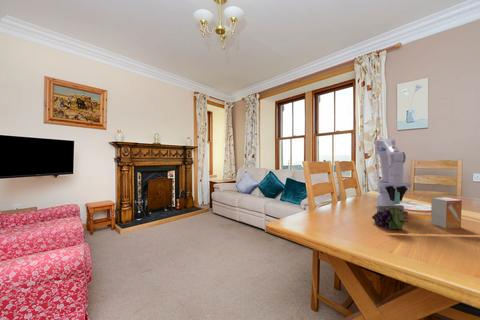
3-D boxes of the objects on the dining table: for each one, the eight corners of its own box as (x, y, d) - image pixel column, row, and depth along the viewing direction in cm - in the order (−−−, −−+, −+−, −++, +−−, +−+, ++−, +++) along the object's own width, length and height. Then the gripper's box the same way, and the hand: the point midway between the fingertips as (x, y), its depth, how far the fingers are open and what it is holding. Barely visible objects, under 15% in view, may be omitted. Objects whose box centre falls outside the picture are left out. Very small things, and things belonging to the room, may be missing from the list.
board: (376, 213, 112) (377, 204, 112) (401, 214, 111) (401, 205, 111) (400, 225, 94) (400, 214, 94) (429, 225, 93) (430, 215, 93)
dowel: (390, 202, 108) (390, 191, 108) (396, 202, 108) (397, 191, 107) (394, 204, 105) (395, 192, 104) (401, 204, 104) (401, 192, 104)
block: (384, 213, 110) (384, 207, 110) (397, 213, 110) (398, 208, 109) (393, 217, 103) (393, 211, 103) (407, 217, 103) (407, 211, 102)
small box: (446, 230, 87) (446, 200, 87) (430, 225, 94) (430, 197, 93) (461, 229, 89) (462, 199, 88) (445, 224, 95) (445, 196, 94)
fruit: (380, 229, 97) (418, 232, 83) (366, 229, 92) (403, 232, 79) (377, 208, 99) (413, 207, 86) (363, 206, 95) (398, 206, 82)
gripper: (386, 175, 102) (386, 202, 103) (416, 175, 101) (416, 202, 102) (378, 174, 109) (377, 199, 110) (406, 174, 108) (406, 199, 109)
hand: (395, 200), depth 106 cm, fingers closed on dowel, 3 cm apart
